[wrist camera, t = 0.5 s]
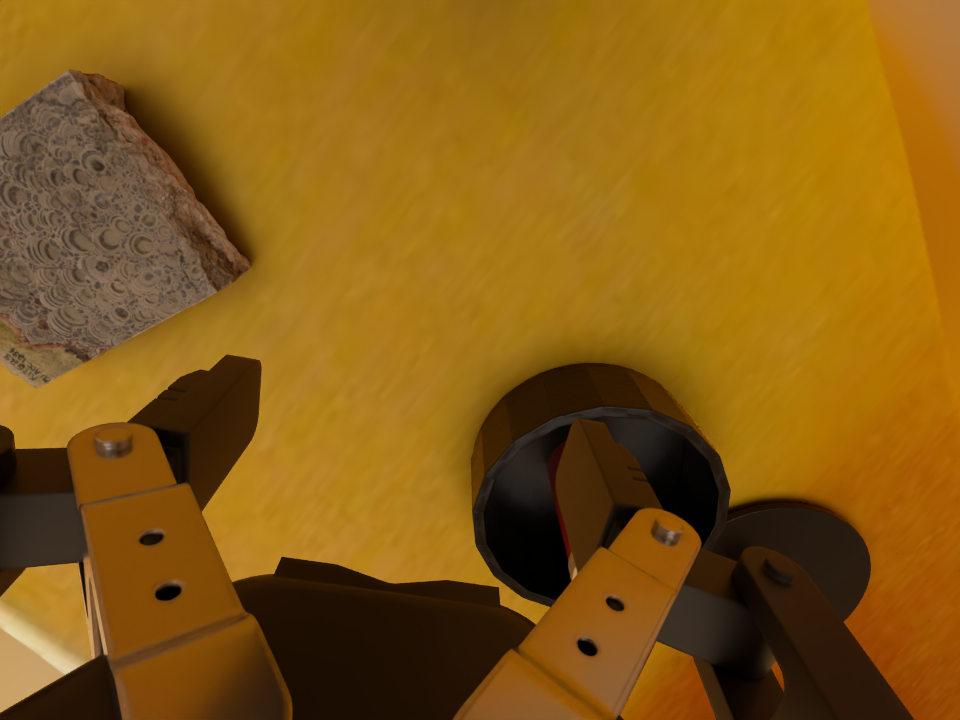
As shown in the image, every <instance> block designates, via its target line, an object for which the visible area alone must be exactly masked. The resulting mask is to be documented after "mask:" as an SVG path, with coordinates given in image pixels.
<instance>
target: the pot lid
mask: <svg viewBox="0 0 960 720" xmlns="http://www.w3.org/2000/svg"><path fill="white" fill-rule="evenodd" d="M750 546H759V547H765V548H768V549H771V550H774V551H776V552H778V553H781V554H782V555H784V556H786V557H788V558H789V559H791V560H792V561H794V562H795V563H797V564H798V565H799V566H800V567H801V568H803V569H804V570H805V571H806V572H807V573H808V575H809V576H810V577H811V578H812V580H813V581H814V582H815V584H816V585H817V587H818V588H819V589H820V591H821V592H822V593H823V595H824V596H825V598H826V599H827V600H828V602H829V603H830V604H831V606H832V607H833V609H834V610H835V611H836V613H837V614H838V615H839V617H840V618H841V620H842V621H843V622H844V621H845V620H846V619H847V618H848V617H849V616H850V615H851V613H852V612H853V611H854V610H855V608H856V607H857V606H858V604H859V602H860V601H861V599H862V597H863V595H864V593H865V591H866V589H867V586H868V582H869V579H870V571H871V562H870V555H869V552H868V549H867V546H866V544H865V542H864V540H863V538H862V537H861V536H860V535H859V533H858V532H857V531H856V530H855V529H854V528H853V527H852V526H851V525H850V524H849V523H848V522H847V521H845V520H844V519H843V518H841V517H840V516H838V515H836V514H835V513H833V512H830V511H828V510H825V509H823V508H820V507H816V506H812V505H808V504H800V503H772V504H764V505H759V506H753V507H749V508H746V509H742V510H739V511H736V512H733V513H731V514H728V515H727V520H726V526H725V529H724V530H723V532H722V534H721V535H720V537H719V539H718V541H717V542H716V544H715V546H714V547H713V549H712V551H711V552H713V553H715V554H718V555H721V556H723V557H726V558H729V559H731V560H734V561H738V560H739V558H740V556H741V554H742V552H743V550H744V549H745V548H747V547H750Z"/></svg>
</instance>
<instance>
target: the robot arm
mask: <svg viewBox="0 0 960 720" xmlns="http://www.w3.org/2000/svg"><path fill="white" fill-rule="evenodd" d="M260 385H261V362H260V361H259V360H256V359H250V358H245V357H239V356H233V355H226V356H224V357H223V358H222V359H221V360H220V361H219V362H218V363H217V364H216V365H215V366H214V367H212V368H211V369H210V370H209V371H205V370H198V371H195V372H192V373H190V374H187V375H184V376H182V377H180V378H179V379H177V380H176V381H175V382H174V383H173V384H172V385H170V386H169V387H168V390H164V391H163V392H162V393H161V394H160V395H159V396H158V398H157V399H156V398H155V399H154V400H153V401H152V402H150V403H149V404H148V405H147V406H146V407H144V408H143V409H142V410H141V411H140V412H139V413H137V414H136V415H135V416H134V417H133V418H131V419H130V420H129V421H128V422H127V423H125V422H120V423H108V424H102V425H98V426H94V427H91V428H88V429H86V430H83V431H81V432H80V433H78V434H76V435H75V436H74V437H72V438H71V440H70V441H69V442H68V445H67V448H42V449H15V442H14V434H13V433H12V431H11V430H10V429H8V428H6V427H4V426H1V425H0V596H1V595H2V594H3V593H4V592H5V591H6V590H7V589H8V588H9V587H10V586H11V584H12V583H13V582H14V581H15V580H16V579H17V578H18V577H19V576H20V575H21V574H22V572H23V571H24V570H25V569H26V568H27V567H37V566H47V565H58V564H68V563H77V564H78V572H79V578H80V584H81V590H82V597H83V603H84V609H85V615H86V621H87V628H88V634H89V640H90V648H91V656H92V660H90V661H89V662H87V663H85V664H84V665H82V666H80V667H78V668H77V669H75V670H73V671H72V672H70V673H68V674H66V675H65V676H63V677H61V678H60V679H58V680H56V681H54V682H53V683H51V684H49V685H47V686H46V687H44V688H42V689H41V690H39V691H37V692H35V693H34V694H32V695H30V696H29V697H27V698H25V699H23V700H21V701H20V702H18V703H16V704H15V705H13V706H11V707H9V708H8V709H6V710H4V711H3V712H1V713H0V720H623V719H622V717H621V716H620V715H621V713H622V711H623V709H624V706H625V704H626V702H627V700H628V698H629V696H630V694H631V692H632V690H633V688H634V686H635V684H636V682H637V680H638V678H639V676H640V674H641V671H642V669H643V667H644V665H645V663H646V661H647V659H648V657H649V655H650V653H651V651H652V649H653V647H654V645H655V643H656V641H658V642H660V643H662V644H665V645H667V646H670V647H672V648H674V649H677V650H679V651H682V652H684V653H686V654H689V655H691V656H693V658H694V662H695V664H696V667H697V670H698V672H699V675H700V677H701V680H702V683H703V685H704V688H705V690H706V693H707V696H708V698H709V701H710V704H711V706H712V709H713V711H714V714H715V717H716V719H717V720H914V719H913V717H912V716H911V714H910V713H909V712H908V710H907V709H906V708H905V706H904V705H903V703H902V702H901V701H900V699H899V698H898V697H897V695H896V694H895V692H894V691H893V690H892V688H891V687H890V686H889V684H888V683H887V681H886V680H885V679H884V677H883V676H882V675H881V673H880V672H879V670H878V669H877V668H876V666H875V665H874V664H873V662H872V661H871V659H870V658H869V657H868V655H867V654H866V653H865V651H864V650H863V648H862V647H861V646H860V644H859V643H858V642H857V640H856V639H855V637H854V636H853V635H852V633H851V632H850V631H849V629H848V628H847V626H846V625H845V624H844V622H843V621H842V620H841V618H840V617H839V615H838V614H837V613H836V611H835V610H834V609H833V607H832V606H831V604H830V603H829V602H828V600H827V599H826V598H825V596H824V595H823V593H822V592H821V591H820V589H819V588H818V587H817V585H816V584H815V582H814V581H813V580H812V578H811V577H810V576H809V575H808V573H807V572H806V571H805V570H804V569H803V568H801V567H800V566H799V565H798V564H797V563H795V562H794V561H792V560H791V559H789V558H788V557H786V556H784V555H782V554H781V553H778V552H776V551H774V550H771V549H768V548H765V547H759V546H750V547H747V548H745V549H744V550H743V552H742V554H741V556H740V558H739V560H738V561H734V560H731V559H729V558H726V557H723V556H721V555H718V554H715V553H713V552H710V551H708V550H705V549H703V548H701V540H700V537H699V535H698V534H697V532H696V531H695V530H694V529H693V528H692V527H691V526H690V525H689V524H688V523H687V522H686V521H684V520H683V519H681V518H679V517H678V516H676V515H674V514H672V513H670V512H667V511H664V510H663V508H662V506H661V504H660V502H659V501H658V499H657V497H656V495H655V493H654V491H653V489H652V488H651V486H650V484H649V483H648V482H647V478H646V477H645V475H644V473H643V472H641V471H642V469H641V467H640V465H639V464H638V462H637V460H636V458H635V457H634V456H633V455H632V454H631V453H630V452H629V451H628V450H627V449H626V448H625V447H624V446H622V445H621V444H615V442H614V440H613V438H612V436H611V434H610V432H609V430H608V428H607V426H606V424H605V423H602V422H596V421H590V420H585V419H579V418H576V419H575V420H574V421H573V423H572V425H571V428H570V431H569V434H568V438H567V441H566V444H565V447H564V450H563V453H562V456H561V459H560V462H559V465H558V469H557V474H556V483H555V486H556V494H557V497H558V501H559V505H560V509H561V513H562V516H563V520H564V524H565V528H566V532H567V535H568V539H569V543H570V547H571V551H572V554H573V558H574V562H575V566H576V569H577V573H578V574H577V575H576V577H575V578H574V579H573V580H572V582H571V583H570V584H569V585H568V586H567V588H566V589H565V590H564V591H563V593H562V594H561V595H560V596H559V598H558V599H557V600H556V601H555V603H554V604H553V605H552V606H551V607H550V609H549V610H548V611H547V612H546V614H545V615H544V616H543V617H542V619H541V620H540V621H539V622H538V624H537V625H536V624H534V623H533V622H532V621H530V620H529V619H527V618H526V617H524V616H522V615H521V614H519V613H517V612H515V611H513V610H511V609H509V608H507V607H504V606H502V605H500V596H499V587H492V586H485V585H478V584H471V583H464V582H457V581H450V580H442V581H428V582H413V583H398V584H393V583H387V582H384V581H381V580H378V579H376V578H373V577H370V576H367V575H364V574H362V573H359V572H356V571H353V570H351V569H348V568H345V567H342V566H339V565H336V564H329V563H322V562H315V561H308V560H301V559H294V558H287V557H281V560H280V562H279V564H278V567H277V569H276V571H275V574H266V575H260V576H253V577H249V578H245V579H241V580H237V581H235V582H231V579H230V577H229V575H228V572H227V570H226V568H225V565H224V563H223V561H222V558H221V556H220V554H219V552H218V549H217V547H216V545H215V542H214V540H213V538H212V535H211V533H210V531H209V529H208V526H207V524H206V522H205V519H204V517H203V515H202V511H203V509H204V508H205V506H206V505H207V503H208V502H209V501H210V499H211V498H212V496H213V495H214V493H215V492H216V490H217V489H218V488H219V486H220V485H221V483H222V482H223V480H224V479H225V478H226V476H227V475H228V473H229V472H230V470H231V469H232V468H233V466H234V465H235V463H236V462H237V460H238V459H239V457H240V456H241V455H242V453H243V452H244V450H245V449H246V447H247V446H248V445H249V443H250V442H251V440H252V438H253V436H254V433H255V430H256V427H257V422H258V415H259V400H260ZM775 661H777V663H778V665H779V667H780V669H781V671H782V674H783V678H784V686H785V689H784V692H783V690H782V688H781V687H780V685H779V683H778V681H777V679H776V677H775V675H774V673H773V671H772V669H771V667H772V666H773V664H774V662H775Z"/></svg>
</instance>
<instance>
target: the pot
mask: <svg viewBox="0 0 960 720" xmlns="http://www.w3.org/2000/svg"><path fill="white" fill-rule="evenodd" d="M576 418H579V419H585V420H590V421H596V422H602V423H605V424H606V426H607V428H608V430H609V432H610V434H611V436H612V438H613V440H614V442H615V444H621V445H622V446H624V447H625V448H626V449H627V450H628V451H629V452H630V453H631V454H632V455H633V456H634V457H635V458H636V460H637V462H638V464H639V465H640V467H641V469H642V471H641V472H643V473H644V475H645V477H646V478H647V482H648V483H649V484H650V486H651V488H652V489H653V491H654V493H655V495H656V497H657V499H658V501H659V502H660V504H661V506H662V508H663V510H664V511H667V512H670V513H672V514H674V515H676V516H678V517H679V518H681V519H683V520H684V521H686V522H687V523H688V524H689V525H690V526H691V527H692V528H693V529H694V530H695V531H696V532H697V534H698V535H699V537H700V540H701V548H703V549H705V550H708V551H710V552H711V551H712V549H713V547H714V546H715V544H716V542H717V541H718V539H719V537H720V535H721V534H722V532H723V530H724V529H725V526H726V520H727V513H728V506H729V499H730V491H731V490H730V486H729V483H728V480H727V477H726V474H725V471H724V467H723V464H722V461H721V458H720V456H719V454H718V453H717V452H716V450H715V449H714V448H713V446H712V445H711V444H710V443H709V441H708V440H707V439H706V437H705V436H704V435H703V434H702V432H701V431H700V430H699V428H698V427H697V426H696V424H695V423H694V422H693V421H692V419H691V418H690V417H689V415H688V414H687V413H686V411H685V410H684V409H683V408H682V407H681V406H680V405H679V404H678V403H677V401H676V400H675V399H674V398H673V397H672V396H671V395H670V394H669V393H668V391H666V390H665V389H664V388H663V387H662V385H660V384H659V383H657V382H655V381H653V380H652V379H650V378H649V377H647V376H645V375H643V374H641V373H638V372H636V371H634V370H631V369H627V368H624V367H620V366H616V365H609V364H597V363H585V364H575V365H568V366H564V367H559V368H555V369H552V370H549V371H547V372H544V373H541V374H539V375H537V376H535V377H533V378H531V379H529V380H527V381H525V382H524V383H522V384H520V385H519V386H517V387H516V388H514V389H513V390H512V391H511V392H509V393H508V394H507V395H506V396H505V397H503V398H502V400H501V401H500V402H499V403H498V404H497V405H496V406H495V407H494V408H493V409H492V411H491V412H490V414H489V415H488V416H487V418H486V419H485V421H484V423H483V425H482V427H481V429H480V431H479V433H478V436H477V439H476V442H475V446H474V451H473V454H472V458H471V476H472V514H473V524H474V534H475V543H476V547H477V549H478V550H479V552H480V554H481V555H482V557H483V559H484V561H485V562H486V564H487V566H488V567H489V569H490V571H491V572H492V574H493V575H494V576H495V577H496V578H497V579H498V580H500V581H501V582H502V583H504V584H505V585H506V586H508V587H509V588H510V589H512V590H513V591H514V592H516V593H517V594H518V595H520V596H521V597H523V598H525V599H528V600H531V601H534V602H537V603H540V604H543V605H546V606H549V607H551V606H552V605H553V604H554V603H555V601H556V600H557V599H558V598H559V596H560V595H561V594H562V593H563V591H564V590H565V589H566V588H567V586H568V585H569V584H570V583H571V578H570V573H569V569H568V562H569V561H568V557H567V553H566V549H565V545H564V540H563V536H562V532H561V528H560V524H559V519H558V515H557V511H556V507H555V503H554V499H553V494H552V490H551V486H550V482H549V478H548V473H547V463H548V460H549V457H550V455H551V454H552V452H553V451H554V449H555V448H556V447H557V446H558V445H560V444H561V443H562V442H564V441H566V440H567V438H568V434H569V431H570V428H571V425H572V423H573V421H574V420H575V419H576Z"/></svg>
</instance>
